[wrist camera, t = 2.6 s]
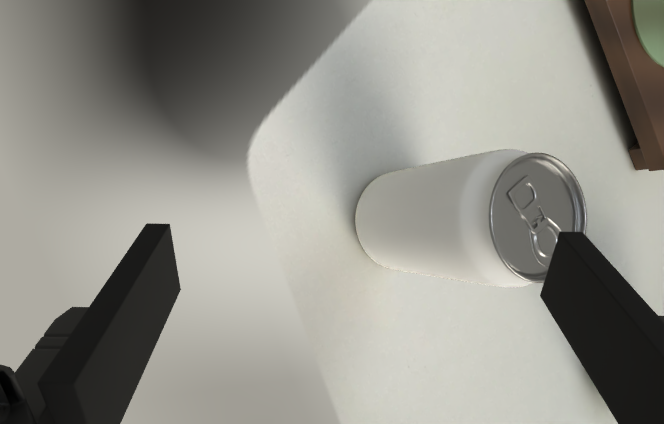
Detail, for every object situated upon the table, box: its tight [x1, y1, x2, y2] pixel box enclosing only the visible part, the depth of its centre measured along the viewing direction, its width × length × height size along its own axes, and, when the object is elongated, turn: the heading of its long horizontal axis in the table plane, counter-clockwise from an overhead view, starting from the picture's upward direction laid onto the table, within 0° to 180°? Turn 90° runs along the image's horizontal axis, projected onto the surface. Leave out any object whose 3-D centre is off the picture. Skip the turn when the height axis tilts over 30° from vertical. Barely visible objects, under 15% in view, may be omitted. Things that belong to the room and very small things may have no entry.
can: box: [355, 149, 587, 288], centre depth 26 cm, size 6×6×12 cm
